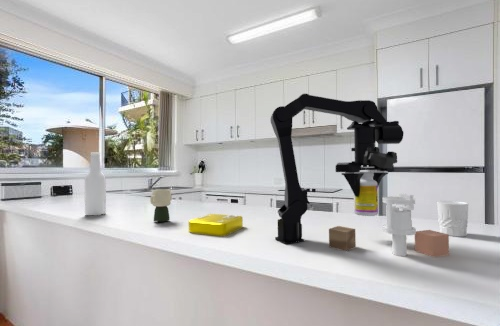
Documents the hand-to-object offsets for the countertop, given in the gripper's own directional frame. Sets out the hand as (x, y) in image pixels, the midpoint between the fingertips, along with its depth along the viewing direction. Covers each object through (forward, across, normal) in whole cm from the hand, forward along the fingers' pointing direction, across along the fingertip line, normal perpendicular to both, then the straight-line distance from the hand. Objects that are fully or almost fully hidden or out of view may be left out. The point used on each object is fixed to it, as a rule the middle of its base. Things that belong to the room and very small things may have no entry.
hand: (365, 196), depth 79 cm
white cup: (+13, +28, -9) cm, 32 cm away
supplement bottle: (+6, 0, 0) cm, 6 cm away
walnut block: (+13, -12, -2) cm, 18 cm away
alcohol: (+14, -77, +92) cm, 121 cm away
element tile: (+14, -35, +34) cm, 51 cm away
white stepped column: (+13, -4, -13) cm, 19 cm away
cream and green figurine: (+13, -51, +58) cm, 78 cm away
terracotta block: (+13, +4, -16) cm, 21 cm away
